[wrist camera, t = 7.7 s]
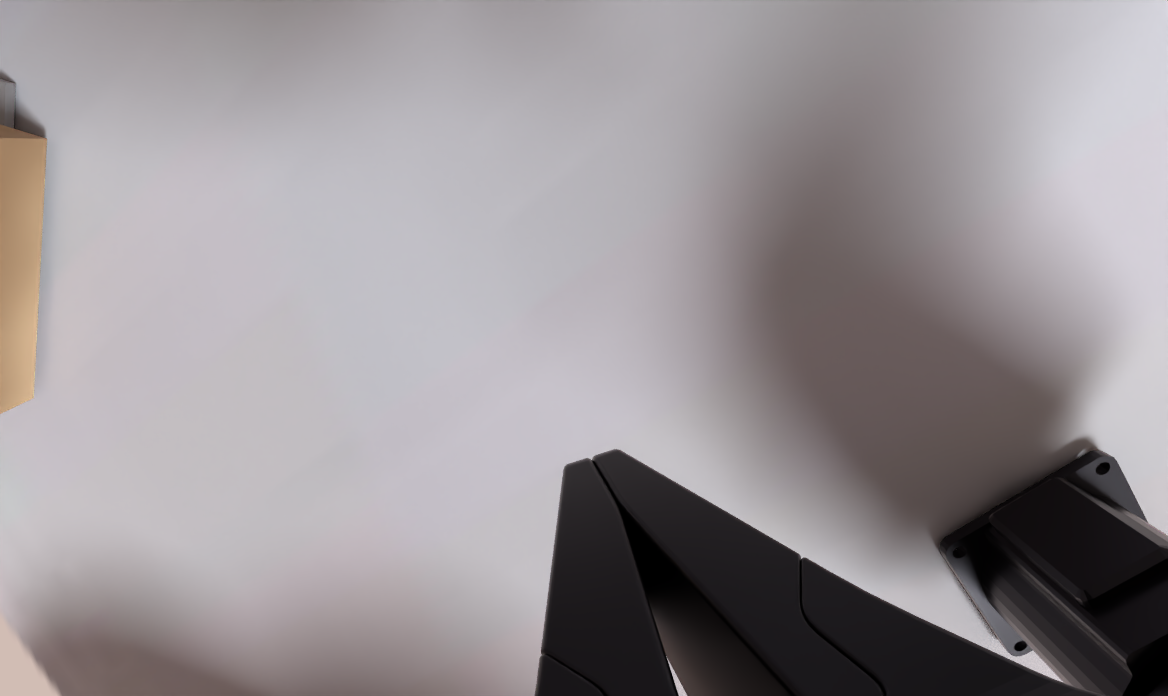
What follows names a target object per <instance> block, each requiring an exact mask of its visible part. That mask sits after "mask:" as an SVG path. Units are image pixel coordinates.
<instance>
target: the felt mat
mask: <svg viewBox="0 0 1168 696" xmlns="http://www.w3.org/2000/svg"><path fill="white" fill-rule="evenodd" d="M14 112H15V83H12V82H9V81H6V80H3V79H0V125H4V126H7V127H10V128H13V129H14Z"/></svg>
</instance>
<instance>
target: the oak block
mask: <svg viewBox="0 0 1168 696" xmlns="http://www.w3.org/2000/svg"><path fill="white" fill-rule="evenodd" d="M46 148H47V139H46V138H43V137H39V136H36V135H33V134H30V133H26V132H23V131H20V130H17V129H13V128H10V127H7V126H4V125H0V414H1V413H3V412H5V411H7V410H9V409H12V408H14V407H16V406H18V405H20V404H22V403H24V402H26V401H28V400H30V399H32V398H34V380H35V360H36V341H37V322H38V302H39V283H40V264H41V244H42V225H43V206H44V186H45V167H46Z"/></svg>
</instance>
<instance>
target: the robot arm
mask: <svg viewBox="0 0 1168 696" xmlns="http://www.w3.org/2000/svg"><path fill="white" fill-rule="evenodd" d="M1098 465H1099V466H1098ZM1097 466H1098V467H1097ZM957 547H959V548H958V549H956V548H957ZM939 549H940V552H941V554H942V556H943V557H944V559H945V560H946V562H947V563H948V565H949V566H950V568H951V569H952V571H953V572H954V574H955V575H956V577H957V578H958V580H959V581H960V583H961V584H962V586H963V587H964V589H965V590H966V592H967V593H968V595H969V596H970V598H971V599H972V601H973V602H974V604H975V605H976V607H977V608H978V610H979V611H980V613H981V614H982V616H983V617H984V619H985V620H986V622H987V623H988V625H989V626H990V628H991V629H992V631H993V632H994V634H995V635H996V637H997V638H998V640H999V641H1000V643H1001V644H1002V646H1003V647H1004V648H1005V649H1006V650H1007V651H1008V652H1009V653H1010V654H1011V655H1013V656H1022V655H1025V654H1027V653H1029V652H1030V651H1032V650H1033V651H1034V652H1035V653H1036V654H1037V655H1038V656H1039V657H1040V658H1041V659H1042V660H1043V661H1044V662H1045V663H1046V664H1047V665H1048V666H1049V668H1050V669H1051V670H1052V671H1053V672H1054V673H1055V674H1056V675H1057V676H1058V677H1059V678H1060V679H1061V680H1062V681H1063V682H1064V683H1063V682H1060V681H1057V680H1054V679H1052V678H1050V677H1047V676H1045V675H1043V674H1040V673H1038V672H1036V671H1033V670H1031V669H1029V668H1027V667H1025V666H1023V665H1020V664H1018V663H1016V662H1014V661H1012V660H1010V659H1007V658H1005V657H1003V656H1001V655H999V654H997V653H995V652H992V651H990V650H988V649H986V648H984V647H982V646H979V645H977V644H975V643H973V642H971V641H969V640H967V639H964V638H962V637H960V636H958V635H956V634H954V633H951V632H949V631H947V630H945V629H943V628H941V627H938V626H936V625H934V624H932V623H930V622H928V621H926V620H923V619H921V618H919V617H917V616H915V615H913V614H911V613H909V612H907V611H905V610H903V609H901V608H898V607H896V606H894V605H892V604H890V603H888V602H886V601H884V600H882V599H880V598H878V597H876V596H874V595H872V594H870V593H868V592H866V591H864V590H863V589H861V588H859V587H857V586H855V585H853V584H852V583H850V582H848V581H846V580H844V579H842V578H841V577H839V576H837V575H835V574H833V573H831V572H830V571H828V570H826V569H824V568H823V567H821V566H819V565H818V564H816V563H814V562H812V561H811V560H809V559H807V558H802V559H801V556H800V555H799V554H798V553H796V552H795V551H793V550H791V549H790V548H788V547H786V546H784V545H783V544H781V543H779V542H778V541H776V540H774V539H772V538H771V537H769V536H767V535H765V534H764V533H762V532H760V531H759V530H757V529H755V528H753V527H752V526H750V525H748V524H747V523H745V522H743V521H741V520H740V519H738V518H736V517H734V516H733V515H731V514H729V513H728V512H726V511H724V510H722V509H721V508H719V507H717V506H716V505H714V504H712V503H710V502H709V501H707V500H705V499H703V498H702V497H700V496H698V495H697V494H695V493H693V492H691V491H690V490H688V489H686V488H685V487H683V486H681V485H679V484H678V483H676V482H674V481H672V480H671V479H669V478H667V477H666V476H664V475H662V474H660V473H659V472H657V471H655V470H654V469H652V468H650V467H648V466H647V465H645V464H643V463H641V462H640V461H638V460H636V459H635V458H633V457H631V456H629V455H628V454H626V453H624V452H623V451H621V450H618V449H614V450H611V451H607V452H604V453H601V454H598V455H595V456H594V457H593V459H592V460H591V459H588V458H586V459H582V460H579V461H576V462H573V463H570V464H567V465H566V466H565V467H564V470H563V478H562V486H561V494H560V502H559V510H558V518H557V526H556V535H555V543H554V551H553V559H552V567H551V575H550V583H549V591H548V599H547V607H546V615H545V623H544V631H543V639H542V647H541V654H542V656H541V657H540V660H539V668H538V676H537V684H536V691H535V696H678V692H677V689H676V686H675V683H674V680H673V676H672V673H671V670H670V667H669V664H668V660H669V662H670V664H671V666H672V667H673V669H674V671H675V673H676V675H677V677H678V679H679V681H680V682H681V684H682V686H683V688H684V690H685V692H686V694H687V696H1168V536H1167V535H1166V534H1164V533H1163V532H1161V531H1160V530H1158V529H1157V528H1155V527H1153V526H1152V525H1150V524H1149V523H1148V522H1147V520H1146V518H1145V516H1144V514H1143V512H1142V510H1141V508H1140V506H1139V504H1138V502H1137V500H1136V498H1135V496H1134V494H1133V492H1132V490H1131V488H1130V486H1129V484H1128V482H1127V480H1126V478H1125V476H1124V474H1123V472H1122V470H1121V468H1120V466H1119V464H1118V463H1117V461H1116V460H1115V458H1114V457H1112V456H1110V455H1108V454H1107V453H1105V452H1103V451H1100V450H1095V451H1091V452H1089V453H1087V454H1085V455H1084V456H1082V457H1080V458H1078V459H1077V460H1075V461H1073V462H1072V463H1070V464H1068V465H1067V466H1065V467H1063V468H1062V469H1060V470H1058V471H1056V472H1055V473H1053V474H1051V475H1050V476H1048V477H1046V478H1045V479H1043V480H1041V481H1040V482H1038V483H1036V484H1034V485H1033V486H1031V487H1029V488H1028V489H1026V490H1024V491H1023V492H1021V493H1019V494H1018V495H1016V496H1014V497H1012V498H1011V499H1009V500H1007V501H1006V502H1004V503H1002V504H1001V505H999V506H997V507H996V508H994V509H992V510H991V511H989V512H987V513H985V514H984V515H982V516H980V517H979V518H977V519H975V520H974V521H972V522H970V523H969V524H967V525H965V526H963V527H962V528H960V529H958V530H957V531H955V532H953V533H952V534H950V535H948V536H947V537H945V538H944V539H943V540H942V542H941V543H940V547H939ZM954 549H956V550H955V551H954ZM666 656H667V657H666ZM667 658H668V660H667Z"/></svg>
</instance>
